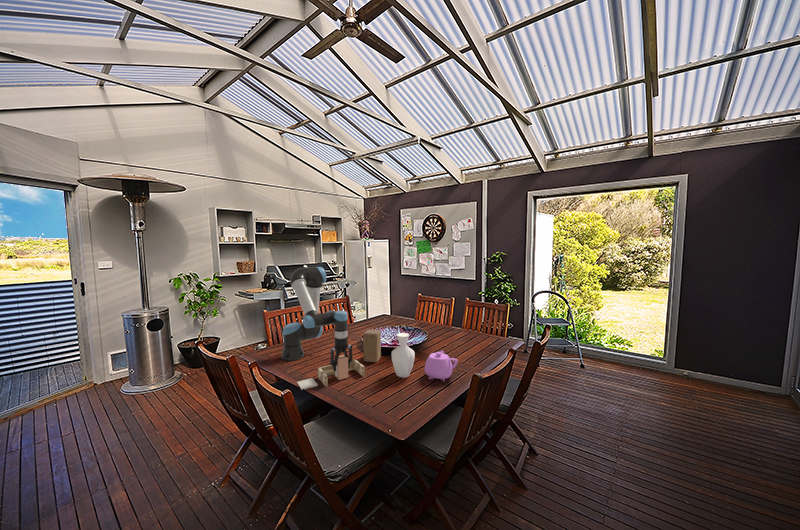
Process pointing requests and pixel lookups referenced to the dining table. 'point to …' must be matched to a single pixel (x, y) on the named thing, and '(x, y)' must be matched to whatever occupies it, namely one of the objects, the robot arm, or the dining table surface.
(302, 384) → the white tile
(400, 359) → the vase
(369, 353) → the wooden block
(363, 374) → the frame
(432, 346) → the dining table surface
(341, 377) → the terracotta block
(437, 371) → the teapot
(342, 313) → the robot arm
